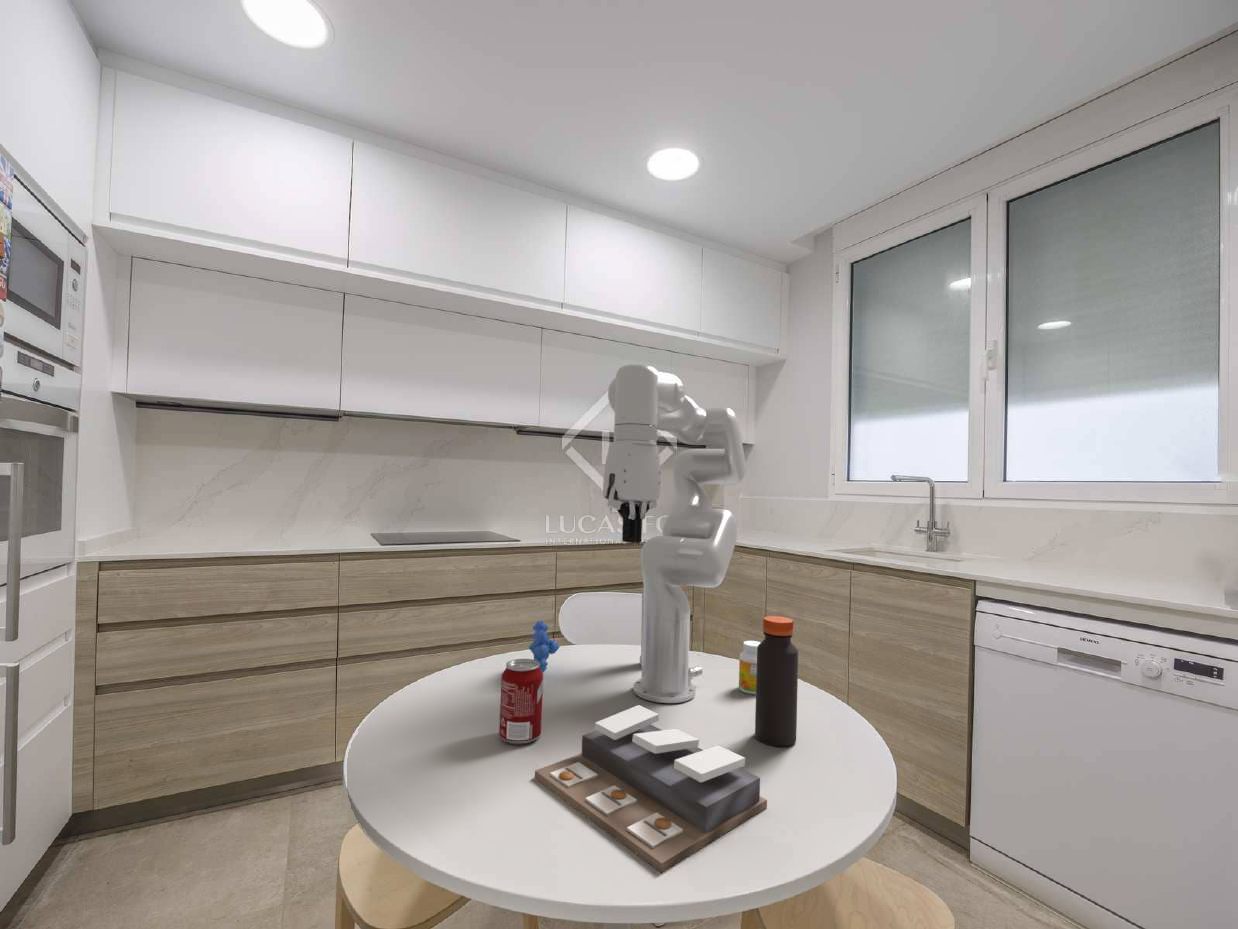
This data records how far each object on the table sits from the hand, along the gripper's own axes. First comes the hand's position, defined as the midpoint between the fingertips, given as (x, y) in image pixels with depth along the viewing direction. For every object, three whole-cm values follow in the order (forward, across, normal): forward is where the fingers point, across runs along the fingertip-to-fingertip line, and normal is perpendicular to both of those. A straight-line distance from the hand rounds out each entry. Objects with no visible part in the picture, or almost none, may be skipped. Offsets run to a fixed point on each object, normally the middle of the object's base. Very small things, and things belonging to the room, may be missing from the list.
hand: (631, 541), depth 98 cm
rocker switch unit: (+32, +11, +16) cm, 38 cm away
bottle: (+32, -28, -22) cm, 48 cm away
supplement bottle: (+32, -34, +2) cm, 47 cm away
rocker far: (+27, +8, +8) cm, 29 cm away
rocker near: (+27, +8, +24) cm, 37 cm away
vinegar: (+32, -18, +18) cm, 41 cm away
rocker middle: (+27, +8, +16) cm, 32 cm away
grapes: (+32, -4, -31) cm, 45 cm away
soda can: (+32, +16, -8) cm, 37 cm away
